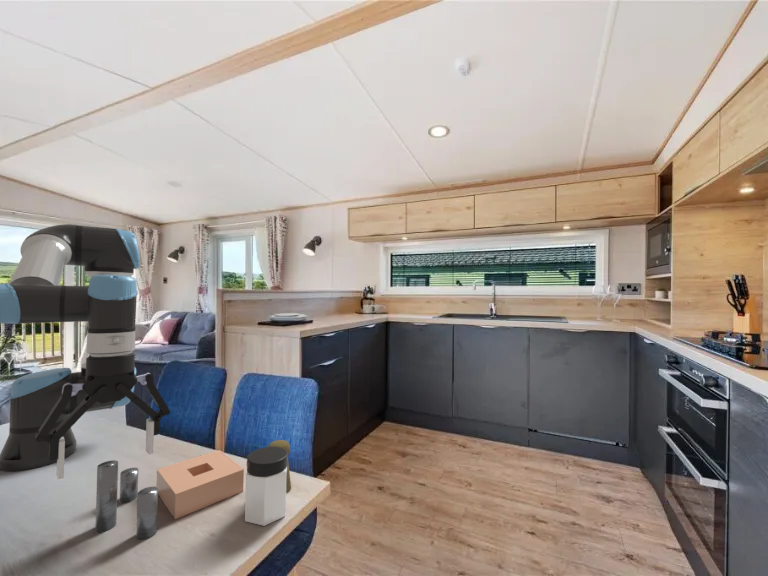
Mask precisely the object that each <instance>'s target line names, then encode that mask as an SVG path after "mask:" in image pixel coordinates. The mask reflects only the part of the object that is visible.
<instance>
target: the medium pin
mask: <svg viewBox="0 0 768 576" xmlns="http://www.w3.org/2000/svg"><path fill="white" fill-rule="evenodd" d="M136 499H137V500H136V533H135V534H136V535H135V536H136V540H138V541H139V540H140V541H143V540H149V538H152V537H154V536H155V535H156V534H157V532H158V501H159V494H158V488H157V487H156V486H147V487H144V488H142V489H140V490H138V494H137V498H136Z"/></svg>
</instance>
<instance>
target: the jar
mask: <svg viewBox="0 0 768 576" xmlns="http://www.w3.org/2000/svg"><path fill="white" fill-rule="evenodd" d="M288 463H289V455H288V452H287V451H286V450H285V449H284V448H281V447H268V446H266V447H265V446H264V447H261V448H257V449H255V450H253V451H251V452H250V453H248V455H247V458H246V474H245V498H244V499H245V503H244V506H245V507H244V508H245V509H244V521H245V522H247V523H250V524H255V525H259V526H264V527H265V526H267V525H269V524H272V523H274V522H276V521H278V520H280V519H282V518H285V517H286V513H287V496H288V493H287V464H288Z"/></svg>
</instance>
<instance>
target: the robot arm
mask: <svg viewBox="0 0 768 576" xmlns="http://www.w3.org/2000/svg"><path fill="white" fill-rule="evenodd" d="M139 249H140V248H139V246H138V239H137V236H136V234H135V233H134V232H132V231H130V230H125V229H119V228H111V227H98V226H89V225H79V224H78V225H77V224H71V223H70V224H69V223H68V224H65V223H64V224H58V225H57V224H56V225H52V226H48V227H44V228H42V229H39V230H37V231H36V230H35V231H34V232H32V233H30V234H29V235H28V236H27V237H25V239H23V241H22V244H21V246H20V249H19V250H20V254H21V255H20V256H21V258H20V259H19V260H20V261H19V262H18V264H17V267H16V268H15V271H14V272H13V275H12V276H11V278H10V281H9V282H8V283H7V282H5V283H1V284H0V324H12V325H19V324H41V323H77V322H79V323H81V322H87V332H86V353H87V354H88V356H87V357H86V358H85V359H86V360H85V362H83V364H81V366H80V371H78V372H73V371H72V369H71V368H70V367H59V368H49V369H45V370H41V371H36V372H32V373H28V374H25V375H22V376H20V377H18V378H16V379H15V380H13V382H12V383H11V387H10V388H11V390H10V395H9V397H8V398H9V400H10V408H9V432H8V437H7V439H6V441H5V443H4V445H3V448H2V449H1V452H0V470H1V471H5V472H7V471H8V472H9V471H11V472H14V471H15V472H16V471H22V470H30V469H34V468H39V467H45V466H47V465H50V464H53V463H56V476H57V480H60V479H64V478H65V476H64V475H65V459H66V458H68V457H70V456H71V455H73V454H74V453H75V452H76V451H77V446H78V445H77V439H76V436H75V434H74V432H73V430H72V427H73V425H75V424H76V423H77V422H78V420H79V419H80V418H82V416H83V415H85V413H87V412H88V413H89V412H95V411H100V410H107V409H110V410H111V409H113V408H118V407H119V408H120V407H124V406H126V405H128V404H129V403H130V402H132V403H133V404H134V405H136V406H137V407H138V408H139V409H141V410H142V411H143V412H144V413H145V414H147V415H148V416H149V417H150V418H147V419H146V423H145V424H146V428H145V452H146V453H147V454H148V455H152V454H154V439H155V438H154V437H155V436H158V435H159V434H160V421H161V420H162V418H163V417H165V416H168V415H170V413H171V411H170V410H171V409H170V408H169V407H168V405H167V403H166V401H165V399H163V397H162V395H161V393H160V392H159V390H158V389H157V387H156V385H155V383H154V381H155V380H154V375H153V374H152V373H150V372H148V371H147V372H145V373H143V374H140V375H137V368H136V365H135V364H136V363H135V362H136V361H135V360H136V354H134V352H132V351H134V350H136V319H137V316H136V315H137V297H138V294H139V293H138V289H137V287H138V286H137V284H138V283H137V280H136V278H135V277H134V276H133V275H134V274H135V273H134V270H138V269H140V264H141V263H140V250H139ZM65 266H77V267H78V266H80V267H81V266H82V267H84V270H83V271H84V273H85V275H87V276H88V277H89V282H88V285H61V281H62V276H63V273H64V268H65ZM138 382H139V383H140V385H142V386H145V388H146V390H147V391H148V393H149V395H150V396H151V398H152V400H153V401H154V403H155V404H156V406H157V408H158V410H156V411H155V410H154V408H152V407H151V406H149V404H147V403H146V402H145V401H144V400H143V399H142V398H140V397H139V396H138V395H137V394H136V393H135V392H134V391H135V386H136V384H137V383H138Z"/></svg>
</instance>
